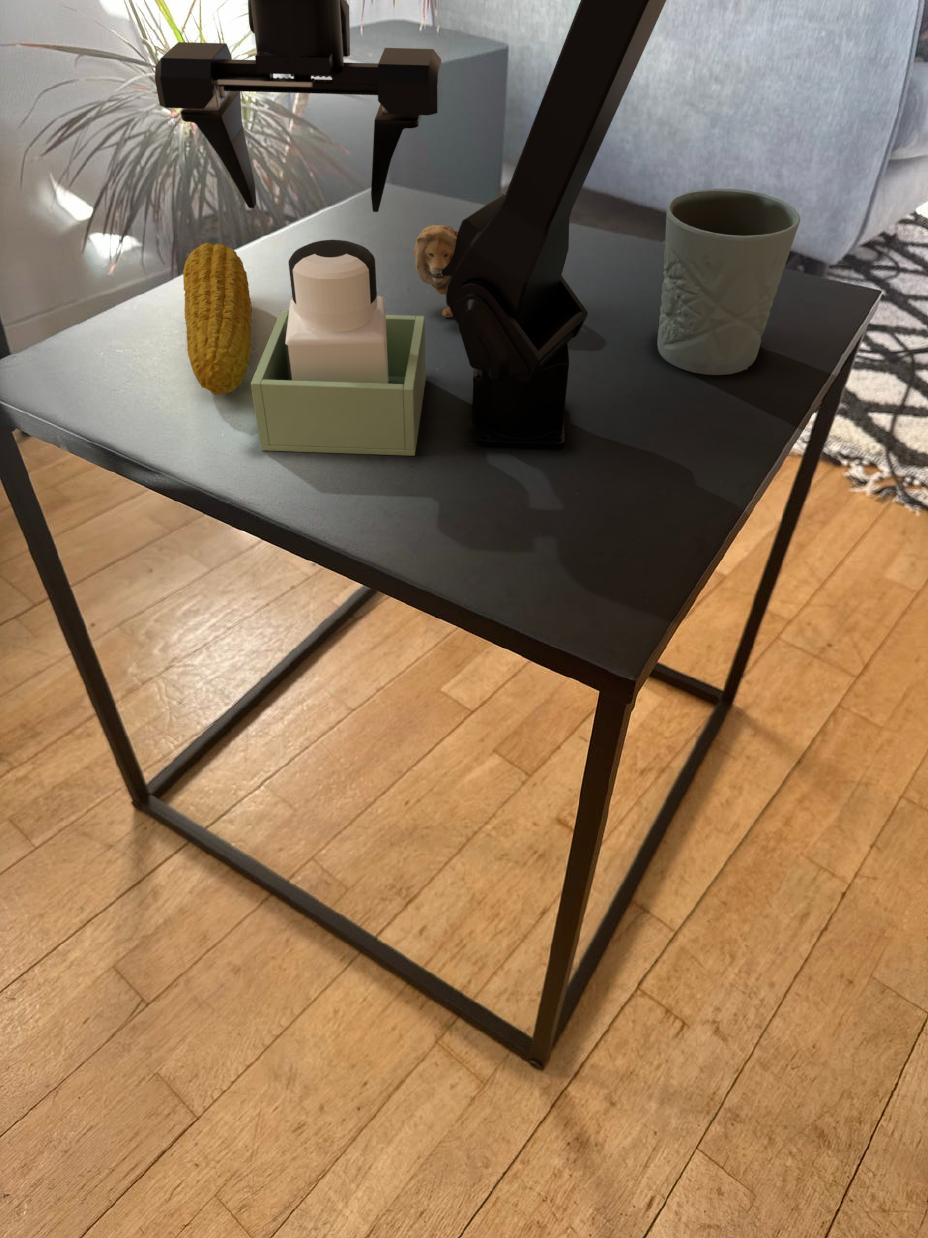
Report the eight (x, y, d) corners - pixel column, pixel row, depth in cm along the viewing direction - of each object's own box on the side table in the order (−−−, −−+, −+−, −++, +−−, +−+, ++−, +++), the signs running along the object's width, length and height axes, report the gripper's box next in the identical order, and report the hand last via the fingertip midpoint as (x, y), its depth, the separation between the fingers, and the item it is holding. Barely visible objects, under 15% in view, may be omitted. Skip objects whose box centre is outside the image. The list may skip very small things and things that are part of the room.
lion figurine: (429, 344, 82) (428, 241, 76) (405, 319, 85) (402, 218, 79) (574, 313, 87) (584, 213, 81) (545, 290, 90) (553, 193, 84)
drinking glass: (781, 345, 83) (818, 205, 75) (737, 393, 77) (772, 246, 68) (675, 315, 87) (699, 178, 79) (625, 358, 81) (646, 215, 72)
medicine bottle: (299, 381, 76) (282, 231, 68) (388, 378, 77) (381, 229, 68) (295, 428, 71) (276, 272, 63) (390, 425, 71) (383, 270, 63)
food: (188, 299, 88) (176, 234, 84) (249, 294, 89) (240, 230, 85) (193, 415, 73) (179, 343, 69) (267, 407, 74) (257, 336, 70)
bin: (425, 378, 78) (424, 315, 74) (414, 456, 69) (413, 389, 66) (288, 374, 78) (280, 310, 74) (260, 450, 70) (250, 383, 66)
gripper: (446, -64, 65) (445, 174, 76) (177, -71, 65) (214, 167, 76) (436, -35, 57) (437, 227, 67) (129, -43, 57) (178, 219, 68)
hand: (314, 207), depth 70 cm, fingers open, 9 cm apart
